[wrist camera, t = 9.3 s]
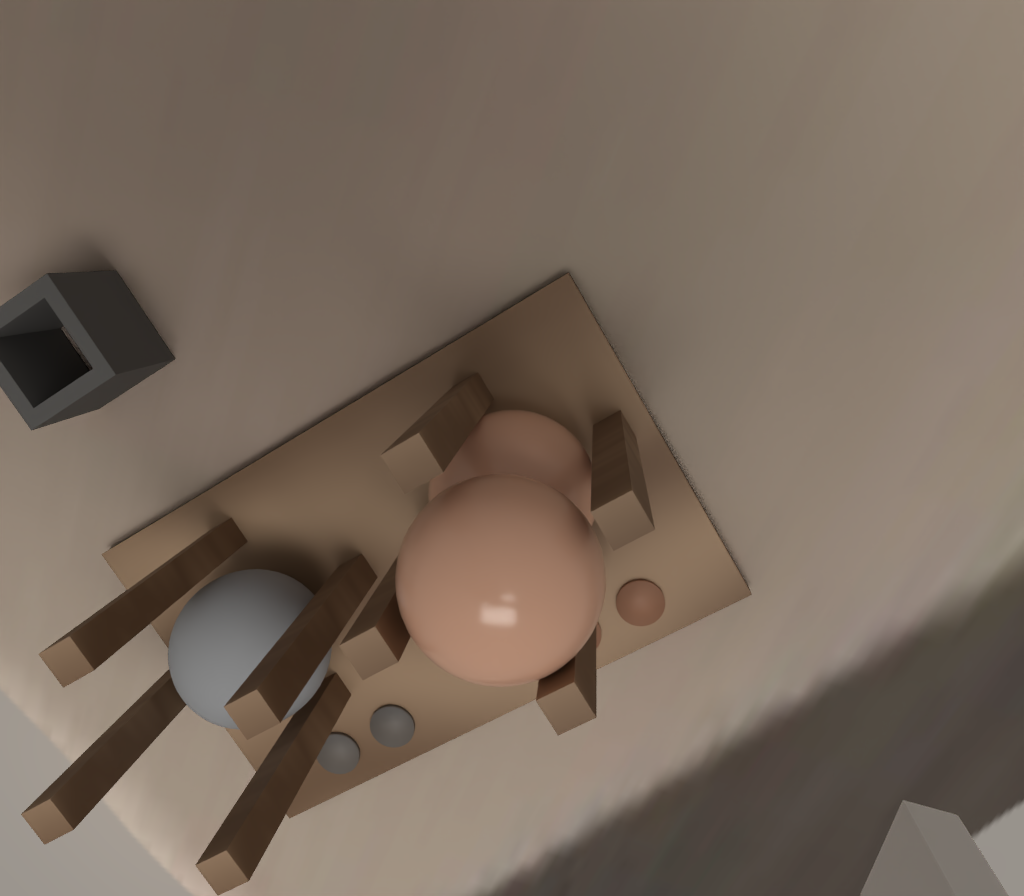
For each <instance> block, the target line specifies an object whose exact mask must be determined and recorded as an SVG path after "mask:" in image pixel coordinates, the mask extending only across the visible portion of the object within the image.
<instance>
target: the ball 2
mask: <svg viewBox="0 0 1024 896" xmlns="http://www.w3.org/2000/svg"><path fill="white" fill-rule="evenodd" d="M487 474H516V475H521V476H526V477H530V478H533V479H536V480H539V481H541V482H543V483H545V484H547V485H549V486H551V487H553V488H555V489H556V490H558V491H559V492H561V493H563V494H564V495H565V496H566V497H567V498H569V499H570V500H571V501H572V502H573V503H574V504H575V505H576V506H577V507H578V508H579V509H580V510H581V512H582V513H583V514H584V515H585V517H586V518H587V520H588V521H589V523H590V524H591V526H592V525H593V522H594V517H593V515H592V514H591V475H592V462H591V460H590V458H589V456H588V454H587V452H586V450H585V449H584V447H583V446H582V444H581V443H580V442H579V441H578V439H577V438H576V437H575V436H574V435H573V434H572V433H571V432H570V431H569V430H567V429H566V428H565V427H564V426H562V425H561V424H559V423H558V422H556V421H554V420H552V419H550V418H549V417H547V416H544V415H541V414H538V413H534V412H530V411H524V410H503V411H497V412H492V413H489V414H486V415H483V416H482V417H481V419H480V420H479V422H478V423H477V425H476V426H475V427H474V429H473V430H472V432H471V433H470V435H469V436H468V438H467V439H466V440H465V442H464V443H463V445H462V446H461V448H460V449H459V451H458V452H457V454H456V455H455V456H454V458H453V459H452V461H451V462H450V464H449V465H448V467H447V468H446V470H445V471H444V472H443V473H442V474H440V475H438V476H436V477H435V478H433V479H431V480H430V482H429V492H428V499H429V502H430V501H431V500H432V499H433V498H434V497H436V496H437V495H438V494H439V493H441V492H442V491H444V490H445V489H447V488H448V487H450V486H452V485H454V484H456V483H458V482H461V481H463V480H466V479H469V478H472V477H477V476H481V475H487Z"/></svg>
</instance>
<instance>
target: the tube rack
mask: <svg viewBox="0 0 1024 896" xmlns="http://www.w3.org/2000/svg"><path fill="white" fill-rule="evenodd" d="M503 410H524V411H530V412H534V413H538V414H541V415H544V416H547V417H549V418H550V419H552V420H554V421H556V422H558V423H559V424H561V425H562V426H564V427H565V428H566V429H567V430H569V431H570V432H571V433H572V434H573V435H574V436H575V437H576V438H577V439H578V441H579V442H580V443H581V444H582V446H583V447H584V449H585V450H586V452H587V454H588V456H589V458H590V460H591V462H592V475H591V514H592V515H593V517H594V522H593V525H592V528H593V529H594V531H595V533H596V536H597V538H598V541H599V543H600V546H601V548H602V552H603V557H604V562H605V568H606V591H605V599H604V603H603V608H602V611H601V614H600V618H599V620H598V622H597V624H596V626H595V628H594V631H593V633H592V635H591V636H590V638H589V639H588V641H587V642H586V643H585V645H584V646H583V647H582V649H581V650H580V651H579V652H578V653H577V654H576V656H575V657H573V658H572V659H571V660H570V661H569V662H568V663H566V664H565V665H564V666H563V667H561V668H560V669H558V670H557V671H555V672H554V673H552V674H550V675H548V676H547V677H544V678H542V679H540V680H537V681H534V682H531V683H527V684H523V685H518V686H510V687H489V686H482V685H477V684H473V683H470V682H467V681H464V680H461V679H459V678H457V677H455V676H453V675H451V674H449V673H447V672H446V671H444V670H443V669H441V668H439V667H438V666H437V665H436V664H435V663H433V662H432V661H431V660H430V659H429V658H428V657H427V656H425V654H424V653H423V652H422V651H421V650H420V649H419V647H418V646H417V645H416V643H415V642H414V641H413V639H412V637H411V636H410V634H409V633H408V631H407V628H406V626H405V624H404V622H403V619H402V617H401V614H400V610H399V606H398V602H397V597H396V585H395V573H396V564H397V558H398V554H399V550H400V547H401V544H402V542H403V539H404V537H405V535H406V532H407V530H408V528H409V527H410V525H411V524H412V522H413V521H414V519H415V518H416V516H417V515H418V513H419V512H420V511H421V510H422V509H423V508H424V507H425V505H426V504H427V503H429V499H428V492H429V482H430V480H431V479H433V478H435V477H436V476H438V475H440V474H442V473H443V472H444V471H445V470H446V468H447V467H448V465H449V464H450V462H451V461H452V459H453V458H454V456H455V455H456V454H457V452H458V451H459V449H460V448H461V446H462V445H463V443H464V442H465V440H466V439H467V438H468V436H469V435H470V433H471V432H472V430H473V429H474V427H475V426H476V425H477V423H478V422H479V420H480V419H481V417H482V416H483V415H486V414H489V413H492V412H497V411H503ZM102 556H103V557H104V559H105V560H106V561H107V563H108V564H109V566H110V567H111V568H112V570H113V571H114V573H115V574H116V575H117V577H118V578H119V580H120V581H121V582H122V584H123V585H124V587H125V588H126V589H127V590H126V591H125V592H124V593H122V594H121V595H120V596H118V597H117V598H115V599H114V600H113V601H111V602H110V603H109V604H107V605H106V606H104V607H103V608H102V609H100V610H99V611H97V612H96V613H95V614H93V615H92V616H91V617H89V618H88V619H86V620H85V621H84V622H82V623H81V624H80V625H78V626H77V627H75V628H74V629H73V630H71V631H70V632H68V633H67V634H66V635H64V636H63V637H62V638H60V639H59V640H57V641H56V642H55V643H53V644H52V645H51V646H49V647H48V648H46V649H45V650H44V651H42V652H41V653H40V654H39V655H40V657H41V658H42V660H43V661H44V662H45V664H46V665H47V666H48V668H49V669H50V670H51V672H52V673H53V674H54V676H55V677H56V678H57V680H58V681H59V682H60V684H61V685H62V686H63V687H65V686H67V685H69V684H71V683H72V682H74V681H76V680H78V679H79V678H81V677H83V676H85V675H86V674H88V673H90V672H92V671H93V670H95V669H96V668H97V667H99V666H100V665H101V664H102V663H103V662H104V661H106V660H107V659H108V658H109V657H110V656H112V655H113V654H114V653H115V652H116V651H118V650H119V649H120V648H121V647H122V646H124V645H125V644H126V643H127V642H128V641H130V640H131V639H132V638H133V637H134V636H136V635H137V634H138V633H139V632H140V631H142V630H143V629H144V628H145V627H146V626H148V625H149V624H150V623H151V625H152V626H153V627H154V629H155V630H156V632H157V633H158V634H159V636H160V637H161V639H162V640H163V641H164V643H165V644H166V646H167V647H168V648H169V641H170V636H171V632H172V629H173V627H174V624H175V622H176V619H177V618H178V616H179V614H180V612H181V611H182V609H183V607H184V606H185V605H186V604H187V602H188V601H189V600H190V599H191V598H192V597H193V596H194V595H195V594H196V593H197V592H198V591H199V590H200V589H201V588H203V587H204V586H206V585H207V584H209V583H210V582H212V581H213V580H215V579H217V578H219V577H221V576H224V575H226V574H229V573H232V572H236V571H241V570H248V569H263V570H270V571H275V572H279V573H282V574H285V575H287V576H290V577H292V578H294V579H295V580H297V581H299V582H300V583H302V584H303V585H304V586H305V587H307V588H308V589H309V590H310V591H311V592H312V593H313V594H314V595H315V596H314V597H313V598H312V599H311V600H310V602H309V603H308V604H307V605H306V607H305V608H304V609H303V610H302V611H301V613H300V614H299V615H298V616H297V618H296V619H295V620H294V621H293V622H292V624H291V625H290V626H289V627H288V629H287V630H286V631H285V632H284V634H283V635H282V636H281V637H280V638H279V640H278V641H277V642H276V643H275V645H274V646H273V647H272V648H271V649H270V651H269V652H268V653H267V654H266V656H265V657H264V658H263V659H262V660H261V662H260V663H259V664H258V665H257V667H256V668H255V669H254V670H253V671H252V673H251V674H250V675H249V676H248V678H247V679H246V680H245V681H244V682H243V684H242V685H241V686H240V687H239V689H238V690H237V691H236V692H235V694H234V695H233V696H232V697H231V698H230V700H229V701H228V702H227V703H226V705H225V706H224V708H225V710H226V711H227V712H228V714H229V715H230V717H231V718H232V719H233V721H234V722H235V724H236V725H237V727H238V728H239V729H240V730H239V729H230V728H226V730H227V731H228V733H229V734H230V736H231V737H232V738H233V740H234V741H235V743H236V744H237V745H238V747H239V748H240V750H241V751H242V752H243V754H244V755H245V757H246V758H247V759H248V761H249V762H250V764H251V765H252V766H253V768H254V769H255V771H256V773H255V775H254V776H253V778H252V779H251V781H250V782H249V784H248V785H247V787H246V789H245V790H244V792H243V793H242V795H241V796H240V798H239V799H238V801H237V802H236V804H235V805H234V807H233V808H232V810H231V812H230V813H229V815H228V816H227V818H226V819H225V821H224V822H223V824H222V825H221V827H220V828H219V830H218V831H217V833H216V835H215V836H214V838H213V839H212V841H211V842H210V844H209V845H208V847H207V848H206V850H205V851H204V853H203V854H202V856H201V858H200V859H199V861H198V862H197V864H196V867H197V868H198V869H199V871H200V872H201V874H202V875H203V876H204V878H205V879H206V880H207V882H208V883H209V884H210V886H211V887H212V888H213V890H214V891H215V892H216V894H217V895H220V894H222V893H224V892H226V891H229V890H231V889H233V888H235V887H237V886H239V885H241V884H243V883H246V882H248V881H249V880H250V878H251V876H252V874H253V872H254V871H255V869H256V867H257V865H258V863H259V862H260V860H261V858H262V856H263V854H264V853H265V851H266V849H267V847H268V845H269V843H270V842H271V840H272V838H273V836H274V834H275V833H276V831H277V829H278V827H279V825H280V824H281V822H282V820H283V818H284V816H285V814H287V816H288V817H289V818H291V817H293V816H295V815H297V814H300V813H302V812H304V811H306V810H308V809H310V808H312V807H314V806H316V805H318V804H320V803H322V802H324V801H326V800H328V799H331V798H333V797H335V796H337V795H339V794H341V793H343V792H345V791H347V790H349V789H351V788H353V787H355V786H357V785H359V784H362V783H364V782H366V781H368V780H370V779H372V778H374V777H376V776H378V775H380V774H382V773H384V772H386V771H388V770H390V769H392V768H395V767H397V766H399V765H401V764H403V763H405V762H407V761H409V760H411V759H413V758H415V757H417V756H419V755H421V754H423V753H426V752H428V751H430V750H432V749H434V748H436V747H438V746H440V745H442V744H444V743H446V742H448V741H450V740H452V739H454V738H457V737H459V736H461V735H463V734H465V733H467V732H469V731H471V730H473V729H475V728H477V727H479V726H481V725H483V724H485V723H487V722H490V721H492V720H494V719H496V718H498V717H500V716H502V715H504V714H506V713H508V712H510V711H512V710H514V709H516V708H518V707H521V706H523V705H525V704H527V703H529V702H531V701H533V700H535V699H536V701H537V703H538V705H539V706H540V708H541V709H542V711H543V712H544V714H545V716H546V717H547V719H548V720H549V722H550V724H551V725H552V727H553V728H554V730H555V731H556V733H557V735H560V734H562V733H564V732H566V731H569V730H571V729H573V728H575V727H577V726H579V725H581V724H583V723H586V722H588V721H590V720H592V719H594V718H596V670H597V669H599V668H601V667H603V666H605V665H607V664H609V663H611V662H613V661H616V660H618V659H620V658H622V657H624V656H626V655H628V654H630V653H632V652H634V651H636V650H638V649H640V648H642V647H644V646H646V645H649V644H651V643H653V642H655V641H657V640H659V639H661V638H663V637H665V636H667V635H669V634H671V633H673V632H675V631H677V630H680V629H682V628H684V627H686V626H688V625H690V624H692V623H694V622H696V621H698V620H700V619H702V618H704V617H706V616H708V615H711V614H713V613H715V612H717V611H719V610H721V609H723V608H725V607H727V606H729V605H731V604H733V603H735V602H737V601H739V600H741V599H744V598H746V597H748V596H750V595H752V594H751V592H750V589H749V587H748V585H747V584H746V582H745V580H744V578H743V577H742V575H741V573H740V571H739V570H738V568H737V566H736V564H735V563H734V561H733V559H732V557H731V556H730V554H729V552H728V550H727V549H726V547H725V545H724V543H723V542H722V540H721V538H720V536H719V535H718V533H717V531H716V529H715V528H714V526H713V524H712V522H711V521H710V519H709V517H708V515H707V514H706V512H705V510H704V508H703V507H702V505H701V503H700V501H699V500H698V498H697V496H696V494H695V493H694V491H693V489H692V487H691V486H690V484H689V482H688V480H687V479H686V477H685V475H684V473H683V472H682V470H681V468H680V466H679V465H678V463H677V461H676V459H675V458H674V456H673V454H672V452H671V451H670V449H669V447H668V445H667V443H666V442H665V440H664V438H663V436H662V435H661V433H660V431H659V429H658V428H657V426H656V424H655V422H654V421H653V419H652V417H651V415H650V414H649V412H648V410H647V408H646V407H645V405H644V403H643V401H642V400H641V398H640V396H639V394H638V393H637V391H636V389H635V387H634V386H633V384H632V382H631V380H630V379H629V377H628V375H627V373H626V372H625V370H624V368H623V366H622V365H621V363H620V361H619V359H618V358H617V356H616V354H615V352H614V351H613V349H612V347H611V345H610V344H609V342H608V340H607V338H606V337H605V335H604V333H603V331H602V330H601V328H600V326H599V324H598V323H597V321H596V319H595V317H594V316H593V314H592V312H591V310H590V309H589V307H588V305H587V303H586V302H585V300H584V298H583V296H582V294H581V293H580V291H579V289H578V287H577V286H576V284H575V282H574V280H573V279H572V277H571V275H570V273H567V274H565V275H564V276H562V277H560V278H559V279H557V280H555V281H554V282H552V283H551V284H549V285H547V286H546V287H544V288H542V289H541V290H539V291H537V292H536V293H534V294H532V295H531V296H529V297H527V298H526V299H524V300H522V301H521V302H519V303H517V304H516V305H514V306H512V307H511V308H509V309H507V310H506V311H504V312H502V313H501V314H499V315H497V316H496V317H494V318H493V319H491V320H489V321H488V322H486V323H484V324H483V325H481V326H479V327H478V328H476V329H474V330H473V331H471V332H469V333H468V334H466V335H464V336H463V337H461V338H459V339H458V340H456V341H454V342H453V343H451V344H449V345H448V346H446V347H444V348H443V349H441V350H439V351H438V352H436V353H434V354H433V355H431V356H430V357H428V358H426V359H425V360H423V361H421V362H420V363H418V364H416V365H415V366H413V367H411V368H410V369H408V370H406V371H405V372H403V373H401V374H400V375H398V376H396V377H395V378H393V379H391V380H390V381H388V382H386V383H385V384H383V385H381V386H380V387H378V388H376V389H375V390H373V391H372V392H370V393H368V394H367V395H365V396H363V397H362V398H360V399H358V400H357V401H355V402H353V403H352V404H350V405H348V406H347V407H345V408H343V409H342V410H340V411H338V412H337V413H335V414H333V415H332V416H330V417H328V418H327V419H325V420H323V421H322V422H320V423H318V424H317V425H315V426H313V427H312V428H310V429H309V430H307V431H305V432H304V433H302V434H300V435H299V436H297V437H295V438H294V439H292V440H290V441H289V442H287V443H285V444H284V445H282V446H280V447H279V448H277V449H275V450H274V451H272V452H270V453H269V454H267V455H265V456H264V457H262V458H260V459H259V460H257V461H255V462H254V463H252V464H251V465H249V466H247V467H246V468H244V469H242V470H241V471H239V472H237V473H236V474H234V475H232V476H231V477H229V478H227V479H226V480H224V481H222V482H221V483H219V484H217V485H216V486H214V487H212V488H211V489H209V490H207V491H206V492H204V493H202V494H201V495H199V496H197V497H196V498H194V499H192V500H191V501H189V502H188V503H186V504H184V505H183V506H181V507H179V508H178V509H176V510H174V511H173V512H171V513H169V514H168V515H166V516H164V517H163V518H161V519H159V520H158V521H156V522H154V523H153V524H151V525H149V526H148V527H146V528H144V529H143V530H141V531H139V532H138V533H136V534H134V535H133V536H131V537H130V538H128V539H126V540H125V541H123V542H121V543H120V544H118V545H116V546H115V547H113V548H111V549H110V550H108V551H106V552H105V553H103V554H102ZM331 647H332V651H331V658H330V663H329V666H328V670H327V673H326V675H325V677H324V679H323V681H322V683H321V685H320V687H319V688H318V690H317V691H316V693H315V694H314V695H313V697H312V698H311V699H310V700H309V701H308V702H307V703H306V704H305V705H304V706H303V707H302V708H301V709H299V710H298V711H297V712H296V713H295V714H293V715H291V716H290V717H288V718H287V719H285V720H283V718H284V717H285V715H286V714H287V712H288V711H289V709H290V708H291V706H292V705H293V703H294V702H295V700H296V699H297V697H298V696H299V694H300V693H301V691H302V690H303V688H304V687H305V685H306V684H307V682H308V681H309V679H310V678H311V676H312V675H313V673H314V672H315V670H316V669H317V667H318V666H319V664H320V663H321V661H322V660H323V659H324V657H325V656H326V654H327V653H328V651H329V650H330V648H331ZM186 705H187V704H186V703H185V702H184V701H183V700H182V698H181V697H180V695H179V693H178V692H177V690H176V688H175V686H174V683H173V680H172V677H171V674H170V669H169V670H168V671H167V672H166V673H165V674H164V675H163V676H162V677H161V678H160V679H159V680H158V681H157V682H156V683H154V684H153V685H152V686H151V687H150V688H149V689H148V690H147V691H146V692H145V693H144V694H143V695H142V696H141V697H140V698H139V699H138V700H137V701H136V702H135V703H134V704H133V705H132V706H131V707H130V708H129V709H128V710H127V711H126V712H125V713H124V714H123V715H122V716H121V717H120V718H119V719H118V720H117V721H116V722H115V723H114V724H113V725H112V726H111V727H110V728H109V729H108V730H107V731H106V732H105V733H104V734H102V735H101V736H100V737H99V738H98V739H97V740H96V741H95V742H94V743H93V744H92V745H91V746H90V747H89V748H88V749H87V750H86V751H85V752H84V753H83V754H82V755H81V756H80V757H79V758H78V759H77V760H76V761H75V762H74V763H73V764H72V765H71V766H70V767H69V768H68V769H67V770H66V771H65V772H64V773H63V774H62V775H61V776H60V777H59V778H58V779H57V780H56V781H55V782H54V783H53V784H51V785H50V786H49V787H48V789H46V790H45V791H44V792H43V793H42V794H41V795H40V796H39V797H38V798H37V799H36V800H35V801H34V802H33V803H32V804H31V805H30V806H29V807H28V808H27V809H26V810H25V811H24V812H23V813H22V814H21V815H22V816H23V817H24V818H25V820H26V821H27V822H28V824H29V825H30V826H31V828H32V829H33V830H34V831H35V833H36V834H37V835H38V837H39V838H40V839H41V841H42V842H43V843H44V844H47V843H49V842H51V841H53V840H55V839H56V838H58V837H60V836H62V835H64V834H66V833H68V832H70V831H72V830H74V829H75V828H76V826H77V825H78V824H79V823H80V822H81V821H82V820H83V819H84V817H85V816H86V815H87V814H88V813H89V812H90V811H91V810H92V809H93V808H94V807H95V805H96V804H97V803H98V802H99V801H100V800H101V799H102V798H103V797H104V795H105V794H106V793H107V792H108V791H109V790H110V789H111V788H112V787H113V785H114V784H115V783H116V782H117V781H118V780H119V779H120V778H121V777H122V775H123V774H124V773H125V772H126V771H127V770H128V769H129V768H130V767H131V766H132V764H133V763H134V762H135V761H136V760H137V759H138V758H139V757H140V756H141V754H142V753H143V752H144V751H145V750H146V749H147V748H148V747H149V746H150V744H151V743H152V742H153V741H154V740H155V739H156V738H157V737H158V736H159V734H160V733H161V732H162V731H163V730H164V729H165V728H166V727H167V726H168V725H169V723H170V722H171V721H172V720H173V719H174V718H175V717H176V716H177V715H178V713H179V712H180V711H181V710H182V709H183V708H184V707H185V706H186ZM282 720H283V721H282Z"/></svg>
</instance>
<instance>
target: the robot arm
mask: <svg viewBox="0 0 1024 896" xmlns="http://www.w3.org/2000/svg"><path fill="white" fill-rule="evenodd" d="M860 896H1008V894H1007V893H1006V891H1005V890H1004V888H1003V886H1002V885H1001V883H1000V882H999V880H998V878H997V877H996V875H995V874H994V872H993V870H992V869H991V867H990V866H989V864H988V862H987V861H986V860H985V858H984V856H983V855H982V853H981V851H980V850H979V848H978V847H977V845H976V843H975V842H974V840H973V839H972V837H971V835H970V834H969V832H968V831H967V829H966V828H965V826H964V824H963V823H962V821H961V820H960V818H959V816H958V815H955V814H952V813H948V812H944V811H941V810H937V809H933V808H930V807H926V806H922V805H919V804H915V803H912V802H908V801H904V800H903V801H902V803H901V805H900V808H899V810H898V812H897V814H896V817H895V819H894V821H893V823H892V825H891V828H890V830H889V832H888V834H887V837H886V839H885V841H884V843H883V845H882V848H881V850H880V852H879V854H878V857H877V859H876V861H875V863H874V865H873V868H872V870H871V872H870V874H869V877H868V879H867V881H866V883H865V885H864V888H863V890H862V892H861V894H860Z"/></svg>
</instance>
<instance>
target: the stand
mask: <svg viewBox="0 0 1024 896" xmlns="http://www.w3.org/2000/svg"><path fill="white" fill-rule="evenodd" d="M63 326H64V327H65V328H66V330H67V331H68V333H69V334H70V335H71V337H72V338H73V340H74V341H75V343H76V344H77V346H78V347H79V349H80V350H81V351H82V353H83V354H84V356H85V357H86V359H87V360H88V362H89V363H90V365H91V366H92V368H93V369H92V370H90V371H89V370H88V368H87V367H86V365H85V364H84V363H83V361H82V360H81V358H80V357H79V355H78V354H77V352H76V351H75V349H74V348H73V347H72V345H71V344H70V342H69V341H68V339H67V338H66V336H65V335H64V333H63V332H62V331H61V329H60V328H61V327H63ZM173 360H175V358H174V357H173V355H172V354H171V352H170V351H169V349H168V348H167V346H166V345H165V343H164V342H163V340H162V339H161V337H160V336H159V334H158V333H157V331H156V330H155V328H154V327H153V325H152V324H151V322H150V321H149V319H148V318H147V316H146V315H145V313H144V312H143V310H142V309H141V307H140V306H139V304H138V303H137V301H136V300H135V298H134V297H133V295H132V294H131V292H130V291H129V289H128V288H127V286H126V285H125V283H124V282H123V280H122V279H121V277H120V276H119V274H118V273H117V271H93V272H70V273H48V274H46V275H44V276H43V277H41V278H40V279H39V280H37V281H36V282H34V283H33V284H32V285H30V286H29V287H27V288H26V289H24V290H23V291H22V292H20V293H19V294H17V295H16V296H15V297H13V298H12V299H10V300H9V301H8V302H6V303H5V304H3V305H2V306H1V307H0V387H1V388H2V389H3V391H4V392H5V394H6V395H7V396H8V398H9V399H10V401H11V402H12V404H13V405H14V406H15V408H16V409H17V411H18V412H19V413H20V415H21V416H22V418H23V419H24V420H25V422H26V423H27V425H28V426H29V428H30V429H31V430H34V429H37V428H40V427H44V426H47V425H50V424H53V423H56V422H59V421H62V420H65V419H69V418H72V417H75V416H78V415H81V414H84V413H87V412H90V411H94V410H97V409H100V408H101V407H103V406H104V405H106V404H107V403H109V402H110V401H112V400H113V399H115V398H116V397H118V396H119V395H121V394H123V393H124V392H126V391H127V390H129V389H130V388H132V387H133V386H135V385H136V384H138V383H139V382H141V381H142V380H144V379H146V378H147V377H149V376H150V375H152V374H153V373H155V372H156V371H158V370H159V369H161V368H162V367H164V366H165V365H167V364H169V363H170V362H172V361H173Z"/></svg>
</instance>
